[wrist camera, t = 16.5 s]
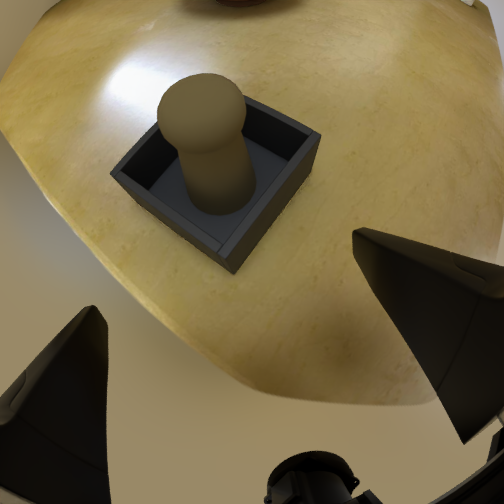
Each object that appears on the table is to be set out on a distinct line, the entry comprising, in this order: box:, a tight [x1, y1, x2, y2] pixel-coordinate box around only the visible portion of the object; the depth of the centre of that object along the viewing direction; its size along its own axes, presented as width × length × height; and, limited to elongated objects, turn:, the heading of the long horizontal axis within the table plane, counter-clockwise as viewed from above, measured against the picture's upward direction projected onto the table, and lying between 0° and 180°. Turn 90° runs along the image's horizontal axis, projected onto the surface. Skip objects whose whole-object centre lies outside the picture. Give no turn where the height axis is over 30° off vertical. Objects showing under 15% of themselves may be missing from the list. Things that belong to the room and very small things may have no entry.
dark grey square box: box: [110, 95, 321, 275], centre depth 22 cm, size 11×11×6 cm
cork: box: [157, 73, 257, 216], centre depth 19 cm, size 6×6×11 cm
